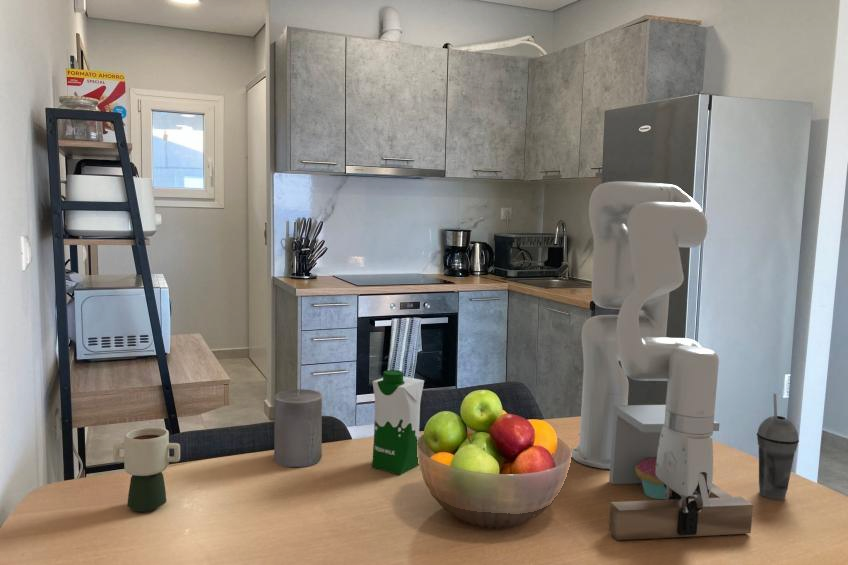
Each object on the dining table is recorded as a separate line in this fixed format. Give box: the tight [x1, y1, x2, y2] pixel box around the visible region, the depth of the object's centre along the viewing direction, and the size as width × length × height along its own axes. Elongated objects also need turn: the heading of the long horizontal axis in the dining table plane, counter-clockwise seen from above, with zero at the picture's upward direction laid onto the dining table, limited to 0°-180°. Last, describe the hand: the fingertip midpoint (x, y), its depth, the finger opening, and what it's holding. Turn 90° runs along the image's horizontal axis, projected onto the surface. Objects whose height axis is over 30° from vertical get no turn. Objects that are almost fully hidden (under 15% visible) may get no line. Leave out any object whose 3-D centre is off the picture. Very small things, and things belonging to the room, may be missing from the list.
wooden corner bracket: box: [608, 482, 754, 541], centre depth 123 cm, size 21×24×5 cm
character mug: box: [112, 426, 181, 512], centre depth 117 cm, size 11×7×13 cm, turn 97°
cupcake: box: [635, 457, 666, 500], centre depth 131 cm, size 9×8×12 cm
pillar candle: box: [273, 388, 323, 468], centre depth 142 cm, size 10×10×15 cm
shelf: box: [608, 404, 720, 485], centre depth 132 cm, size 12×15×16 cm
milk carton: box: [371, 369, 425, 476], centre depth 140 cm, size 9×9×20 cm
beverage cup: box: [756, 393, 800, 501], centre depth 132 cm, size 7×7×20 cm
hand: (680, 527), depth 115 cm, fingers closed on wooden corner bracket, 3 cm apart
